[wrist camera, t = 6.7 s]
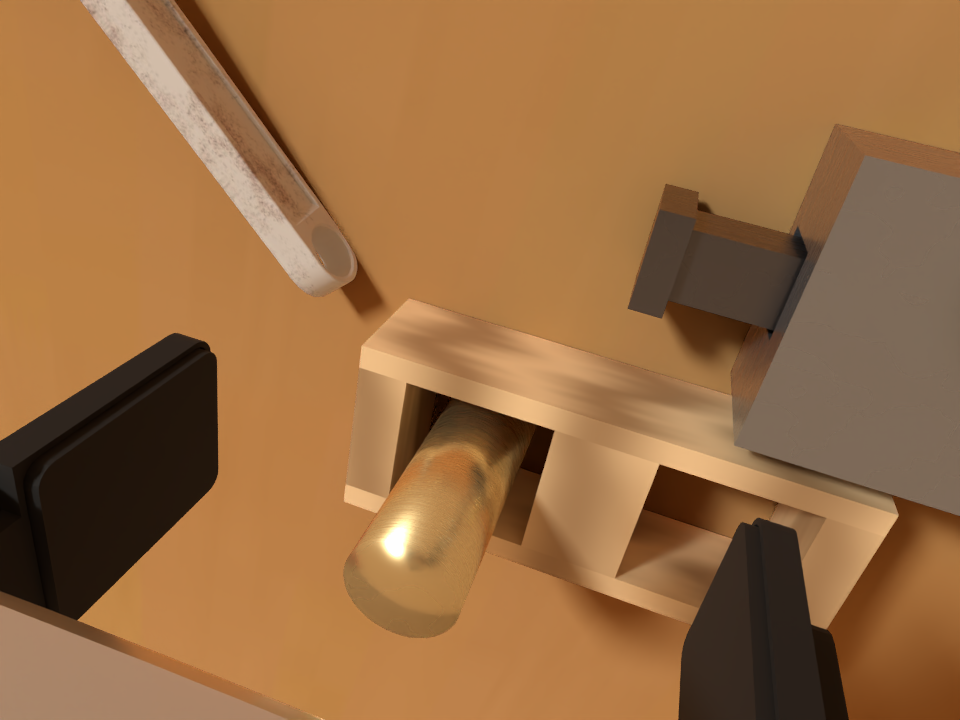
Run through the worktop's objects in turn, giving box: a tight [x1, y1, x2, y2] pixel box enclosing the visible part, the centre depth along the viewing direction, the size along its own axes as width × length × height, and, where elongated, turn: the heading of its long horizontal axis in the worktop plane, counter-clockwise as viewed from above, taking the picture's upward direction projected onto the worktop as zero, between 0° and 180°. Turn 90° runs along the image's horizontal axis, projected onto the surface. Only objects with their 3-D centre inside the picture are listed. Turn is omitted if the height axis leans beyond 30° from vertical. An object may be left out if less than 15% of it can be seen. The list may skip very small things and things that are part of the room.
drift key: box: [628, 184, 808, 330], centre depth 25 cm, size 10×4×4 cm, turn 79°
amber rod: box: [343, 398, 537, 638], centre depth 28 cm, size 4×4×12 cm
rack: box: [344, 299, 899, 629], centre depth 30 cm, size 20×8×5 cm, turn 79°
